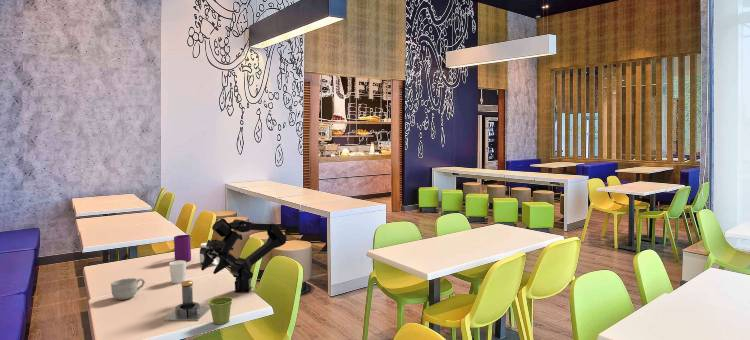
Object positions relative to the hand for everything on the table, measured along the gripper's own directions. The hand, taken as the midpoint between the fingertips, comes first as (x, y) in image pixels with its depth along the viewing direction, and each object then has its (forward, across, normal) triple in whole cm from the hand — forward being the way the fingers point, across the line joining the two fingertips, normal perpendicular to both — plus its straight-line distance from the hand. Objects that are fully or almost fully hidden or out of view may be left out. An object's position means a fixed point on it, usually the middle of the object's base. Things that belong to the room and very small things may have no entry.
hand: (207, 271), depth 211 cm
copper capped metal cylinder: (+19, +6, -1) cm, 20 cm away
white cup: (+4, -39, +16) cm, 42 cm away
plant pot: (+17, +24, +2) cm, 30 cm away
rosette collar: (+20, +6, 0) cm, 20 cm away
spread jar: (-17, -55, +36) cm, 68 cm away
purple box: (-14, -77, +33) cm, 85 cm away
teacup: (+23, -36, -3) cm, 43 cm away
